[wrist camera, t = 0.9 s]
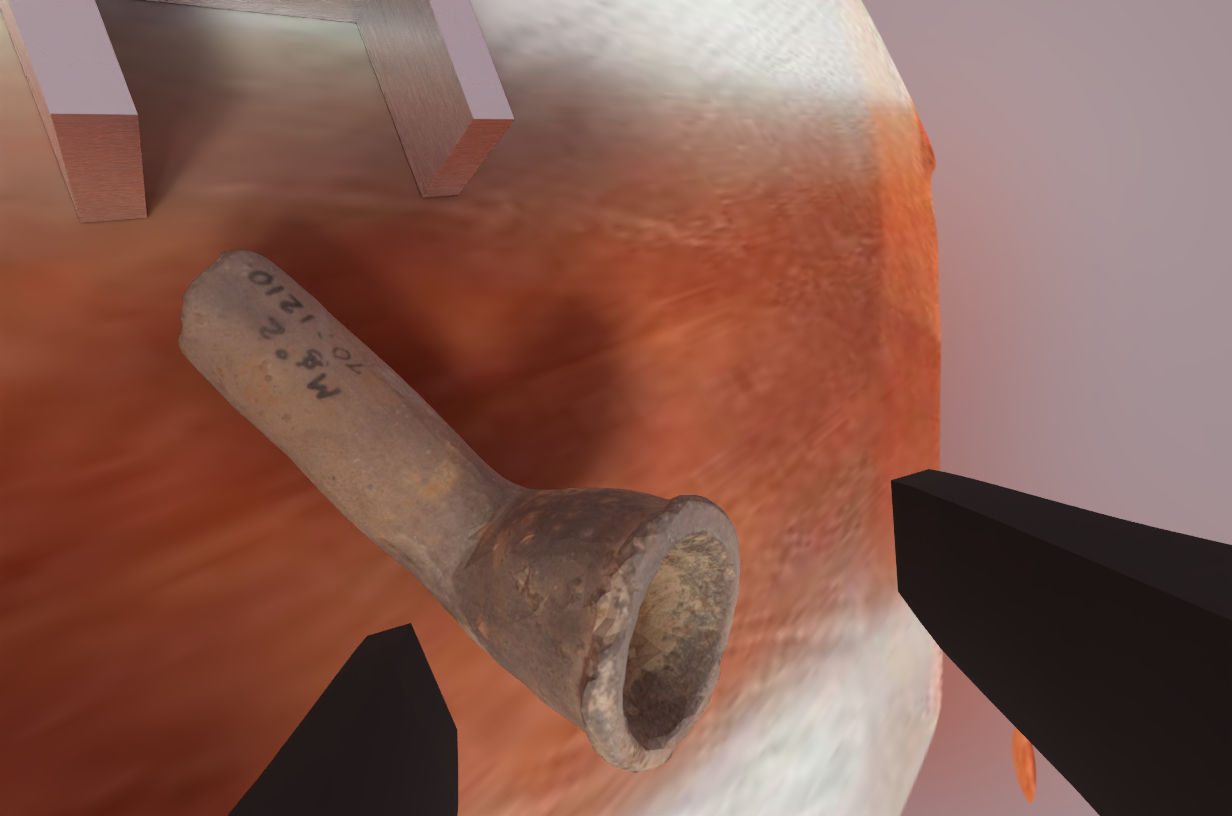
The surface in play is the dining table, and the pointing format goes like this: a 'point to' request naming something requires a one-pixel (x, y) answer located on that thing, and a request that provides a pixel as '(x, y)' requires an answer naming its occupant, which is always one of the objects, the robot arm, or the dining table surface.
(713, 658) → the pipe
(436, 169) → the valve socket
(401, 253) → the dining table surface
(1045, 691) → the robot arm
